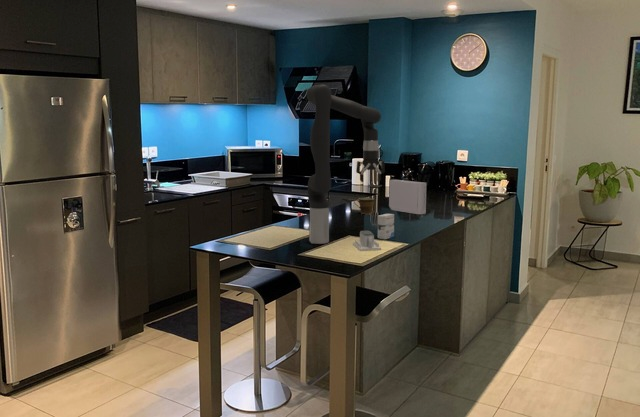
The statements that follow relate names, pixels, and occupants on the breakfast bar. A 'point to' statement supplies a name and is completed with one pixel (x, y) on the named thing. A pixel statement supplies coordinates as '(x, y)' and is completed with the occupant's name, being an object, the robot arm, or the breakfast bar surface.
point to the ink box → (385, 226)
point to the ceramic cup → (365, 205)
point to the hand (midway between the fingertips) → (370, 181)
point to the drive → (366, 238)
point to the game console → (407, 196)
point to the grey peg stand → (362, 248)
